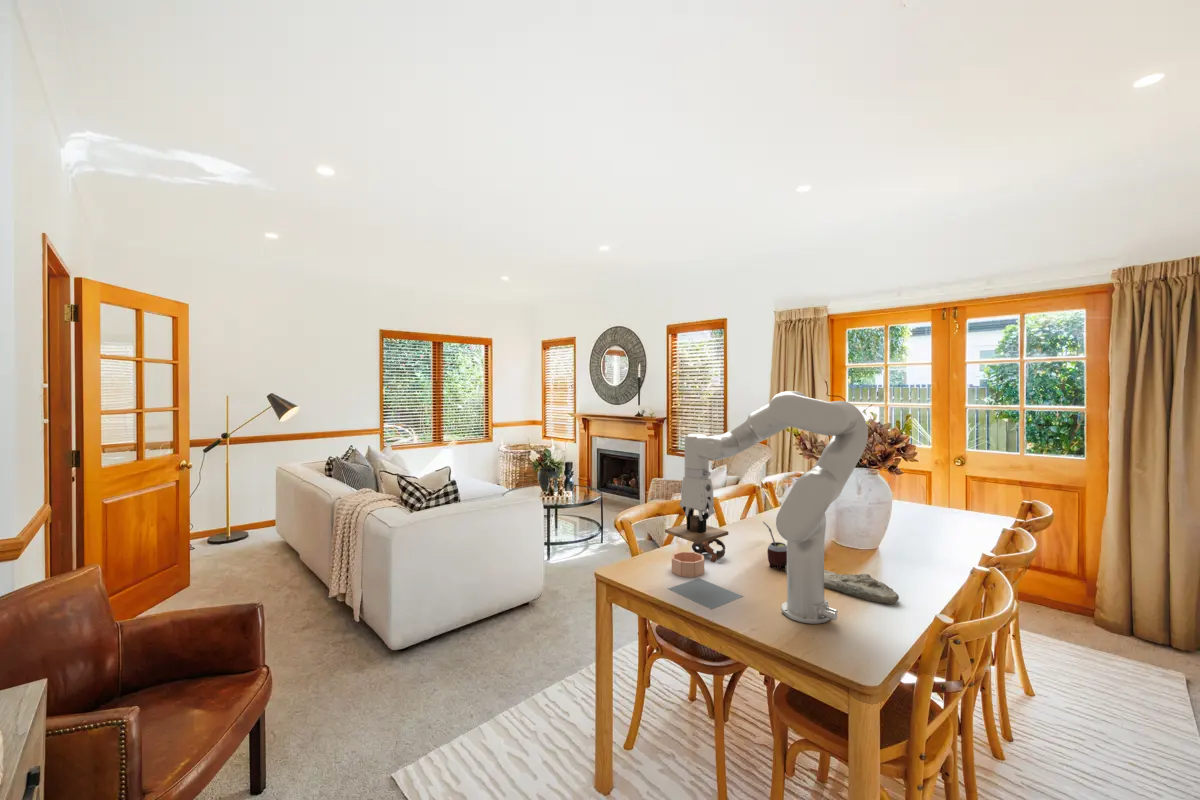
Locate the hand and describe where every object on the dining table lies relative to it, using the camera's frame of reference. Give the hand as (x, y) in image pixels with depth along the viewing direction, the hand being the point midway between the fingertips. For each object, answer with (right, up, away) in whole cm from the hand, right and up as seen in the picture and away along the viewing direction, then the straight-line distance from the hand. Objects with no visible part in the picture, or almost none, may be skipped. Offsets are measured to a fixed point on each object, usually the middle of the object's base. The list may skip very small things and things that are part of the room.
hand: (696, 529), depth 157 cm
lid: (0, -1, 0) cm, 1 cm away
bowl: (-1, -17, +12) cm, 21 cm away
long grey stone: (+44, -18, -2) cm, 47 cm away
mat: (+1, -18, -6) cm, 19 cm away
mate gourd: (+31, -17, +15) cm, 38 cm away
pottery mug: (+9, -17, +25) cm, 32 cm away
